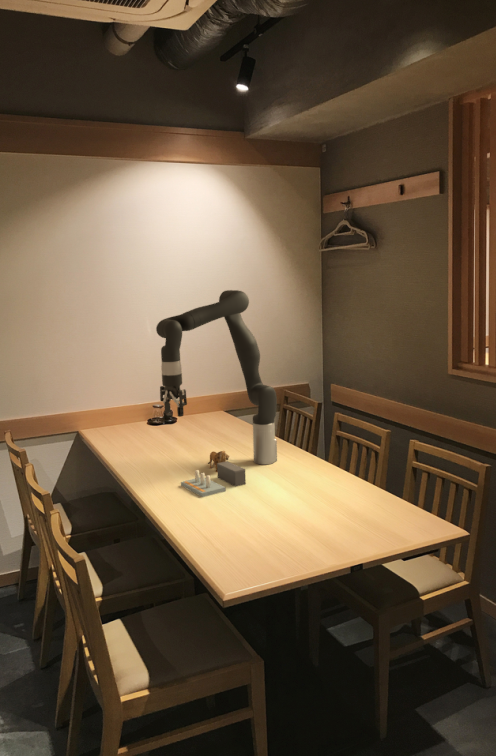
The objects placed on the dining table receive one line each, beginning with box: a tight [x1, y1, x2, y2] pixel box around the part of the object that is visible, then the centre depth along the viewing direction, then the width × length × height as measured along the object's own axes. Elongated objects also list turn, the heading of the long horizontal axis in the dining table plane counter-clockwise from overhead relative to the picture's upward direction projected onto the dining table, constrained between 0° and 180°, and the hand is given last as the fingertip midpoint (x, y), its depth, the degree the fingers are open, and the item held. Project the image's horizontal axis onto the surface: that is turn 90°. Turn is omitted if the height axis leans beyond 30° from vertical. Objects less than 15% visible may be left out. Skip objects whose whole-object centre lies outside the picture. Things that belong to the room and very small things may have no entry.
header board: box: [180, 469, 226, 498], centre depth 244 cm, size 10×16×6 cm, turn 35°
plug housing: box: [216, 460, 247, 488], centre depth 252 cm, size 5×13×6 cm, turn 35°
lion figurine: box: [207, 450, 230, 473], centre depth 267 cm, size 15×5×9 cm, turn 34°
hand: (174, 414), depth 246 cm, fingers open, 8 cm apart
